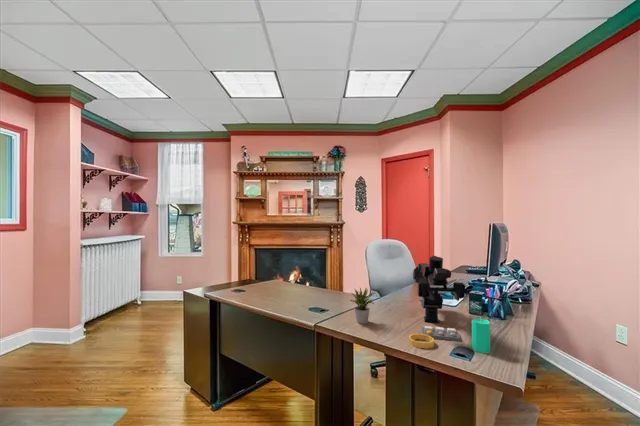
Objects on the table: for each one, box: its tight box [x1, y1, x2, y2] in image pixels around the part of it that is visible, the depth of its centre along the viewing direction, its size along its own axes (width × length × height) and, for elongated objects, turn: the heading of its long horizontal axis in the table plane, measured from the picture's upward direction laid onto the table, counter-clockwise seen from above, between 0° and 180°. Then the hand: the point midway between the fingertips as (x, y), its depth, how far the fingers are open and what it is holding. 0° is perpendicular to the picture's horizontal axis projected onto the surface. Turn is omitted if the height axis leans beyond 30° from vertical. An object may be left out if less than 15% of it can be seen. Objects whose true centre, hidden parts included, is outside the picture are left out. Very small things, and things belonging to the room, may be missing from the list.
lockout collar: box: [408, 333, 435, 349], centre depth 119 cm, size 9×9×2 cm
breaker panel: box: [421, 325, 461, 342], centre depth 127 cm, size 9×14×2 cm, turn 74°
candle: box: [471, 316, 491, 354], centre depth 113 cm, size 6×6×12 cm
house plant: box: [349, 287, 378, 325], centre depth 143 cm, size 14×14×16 cm
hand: (446, 299), depth 121 cm, fingers open, 9 cm apart
